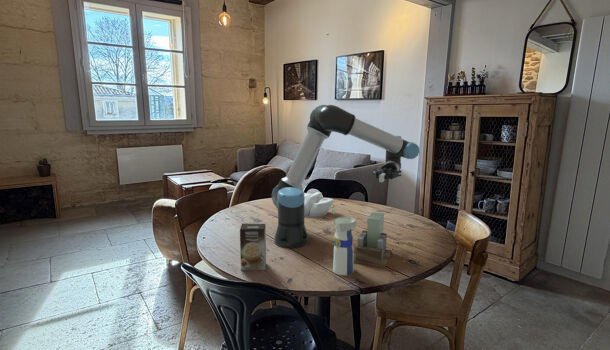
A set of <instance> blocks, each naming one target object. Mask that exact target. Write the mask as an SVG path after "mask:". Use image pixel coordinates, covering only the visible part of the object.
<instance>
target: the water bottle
mask: <svg viewBox="0 0 610 350" xmlns="http://www.w3.org/2000/svg"><path fill="white" fill-rule="evenodd" d="M331 209H332V211H331V213H332V214H333V215H335V211H336V208H335V205H334V204H332V206H331ZM357 226H358V225H357V220H356V219H355V218H354V217H350V216H339V217H336V218H334V219H333V229H335V233H334V234H333V235H334V238H333V241H332V242H333V243H332V244H333V246H334V247H333V261H332V262H333V263H332V272H333V273H334V274H336V275H339V276H349V275H352V274H353V273H354V272H355V265H354V254H355V252H354V251H355V250H354V249H355V248H354V245H353V239H354V237H355V235H354V233H353V229H355V228H356V227H357Z"/></svg>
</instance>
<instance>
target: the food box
mask: <svg viewBox="0 0 610 350" xmlns="http://www.w3.org/2000/svg"><path fill="white" fill-rule="evenodd" d="M266 231H267V229H266V223H241V225H240V227H239V246H240V248H239V249H240V271H265V270H266V267H267V248H266V247H267V246H266V245H267V244H266V242H267V239H266V237H267V236H266V235H267V234H266ZM265 266H266V267H265Z"/></svg>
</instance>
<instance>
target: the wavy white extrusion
mask: <svg viewBox="0 0 610 350" xmlns="http://www.w3.org/2000/svg"><path fill="white" fill-rule="evenodd" d="M322 195H323V193H322V192H317V191H316V192H314V193H307V192H304V197H305V201H304V217H308V218H309V217H310V218H318V217H319V218H320V217H324V216H325V215H327V214H328V212H329V211H330V209H332V207H333V205H334V203H335V199H333V198H329V197H322Z"/></svg>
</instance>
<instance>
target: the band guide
mask: <svg viewBox="0 0 610 350" xmlns="http://www.w3.org/2000/svg"><path fill="white" fill-rule="evenodd" d="M356 239H357V240H356V241H357V245H356V247H355V252H354V263H355V264H361V265H367V266H373V267H379V268H384V269H385V268H386V266H387V264H388V261H389V259H390V257H391V254H392V250H391V249H387V233H384V232H383V233H381V235H380V237H379V239H378V241H377V249H376V248H370V247H367V230H362V231H361V232H360V234H359V235H358V237H357V238H356Z"/></svg>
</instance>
